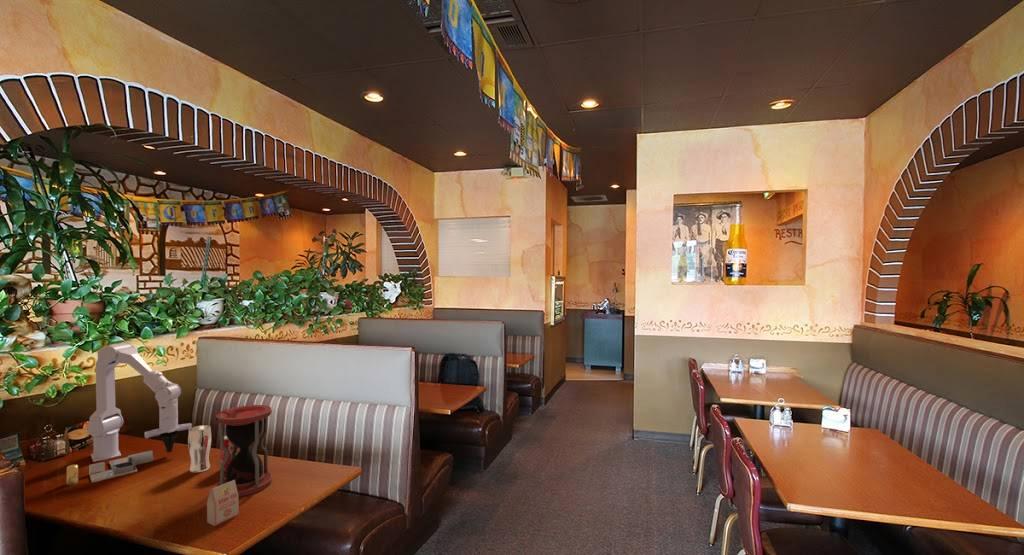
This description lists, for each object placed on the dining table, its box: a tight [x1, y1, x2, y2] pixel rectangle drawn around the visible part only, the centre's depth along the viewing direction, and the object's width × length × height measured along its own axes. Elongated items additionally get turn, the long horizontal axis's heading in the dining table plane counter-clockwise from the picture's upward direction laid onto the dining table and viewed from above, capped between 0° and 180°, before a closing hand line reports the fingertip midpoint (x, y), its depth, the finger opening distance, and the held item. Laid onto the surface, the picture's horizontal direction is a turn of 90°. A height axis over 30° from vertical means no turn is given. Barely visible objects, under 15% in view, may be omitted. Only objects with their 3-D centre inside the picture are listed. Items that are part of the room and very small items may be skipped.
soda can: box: [219, 434, 240, 473], centre depth 166 cm, size 7×7×12 cm
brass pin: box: [66, 464, 79, 486], centre depth 155 cm, size 3×3×6 cm
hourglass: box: [215, 404, 273, 497], centre depth 153 cm, size 16×16×25 cm
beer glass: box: [187, 424, 212, 474], centre depth 166 cm, size 7×7×15 cm
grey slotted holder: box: [108, 450, 154, 469], centre depth 172 cm, size 9×12×4 cm
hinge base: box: [88, 461, 138, 483], centre depth 163 cm, size 9×12×4 cm
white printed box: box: [206, 480, 240, 527], centre depth 133 cm, size 4×7×10 cm, turn 152°
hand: (169, 451), depth 177 cm, fingers closed
